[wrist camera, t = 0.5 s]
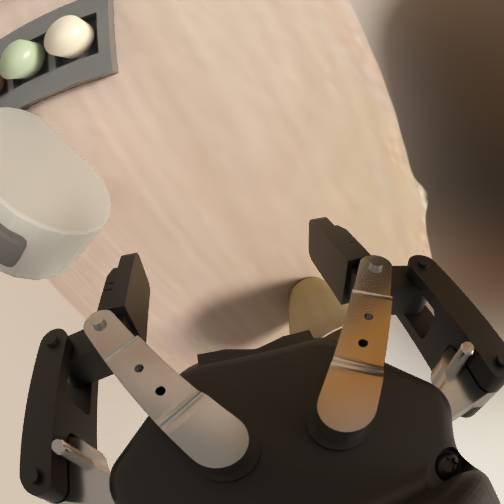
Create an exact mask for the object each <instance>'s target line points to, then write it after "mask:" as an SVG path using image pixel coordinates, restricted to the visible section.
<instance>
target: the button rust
mask: <svg viewBox="0 0 504 504" xmlns="http://www.w3.org/2000/svg"><path fill="white" fill-rule="evenodd" d="M5 80H6V79H5V78H3V77H2V76H1V74H0V92H1V91H2V89H3V87H4V84H5Z"/></svg>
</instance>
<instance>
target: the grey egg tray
mask: <svg viewBox="0 0 504 504" xmlns="http://www.w3.org/2000/svg"><path fill="white" fill-rule="evenodd" d="M67 15H74V16H77V17H78V18H80V19H82V20H83V21H85V22H86V23H88V24H89V25H91V26H92V27H93V29H94V33H95V37H94V41H93V43H92V45H91V47H90V48H89V49H88V51H87V52H85V53H84V54H83V55H81V56H79V57H77V58H73V59H69V58H64V57H60V56H55V55H51V54H49V53H48V52H47V51H46V59H45V62H44V65H43V66H42V68H41V70H40V71H39V72H38V73H37V74H36V75H35V76H33V77H31V78H27V79H6V80H5V84H4V87H3V89H2V91H1V92H0V108H2V107H10V108H16V109H24V108H26V107H28V106H30V105H32V104H35V103H37V102H39V101H41V100H43V99H46V98H48V97H50V96H53V95H55V94H57V93H60V92H62V91H65V90H68V89H70V88H73V87H76V86H78V85H81V84H84V83H87V82H90V81H93V80H96V79H99V78H102V77H106V76H109V75H112V74H116V73H118V66H117V56H116V44H115V30H114V9H113V0H77V1H75V2H72V3H70V4H67V5H65V6H63V7H60V8H58V9H56V10H54V11H51V12H49V13H47V14H45V15H43V16H41V17H39V18H37V19H35V20H33V21H31V22H29V23H27V24H26V25H24V26H22V27H20V28H19V29H17V30H15V31H13V32H12V33H10V34H8V35H7V36H5V37H4V38H2V39H0V58H1V55H2V53H3V52H4V50H5V49H6V48H7V46H8V45H9V44H11V43H12V42H14V41H16V40H19V39H22V40H27V41H31V42H36V43H40V44H42V45H43V46H44V38H45V34H46V32H47V30H48V29H49V27H50V26H51V25H52V24H53V23H54V22H55V21H56V20H58V19H59V18H61V17H63V16H67ZM44 48H45V47H44Z"/></svg>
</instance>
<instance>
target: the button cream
mask: <svg viewBox="0 0 504 504" xmlns="http://www.w3.org/2000/svg"><path fill="white" fill-rule="evenodd" d="M94 37H95V33H94V29H93V27H92V26H91V25H89V24H88V23H86V22H85V21H83V20H82V19H80V18H78V17H77V16H74V15H67V16H63V17H61V18H59V19H58V20H56V21H55V22H54V23H53V24H52V25H51V26H50V27H49V29H48V30H47V32H46V34H45V38H44V47H45V50H46V51H47V52H48V53H49V54H51V55H55V56H60V57H64V58H69V59H73V58H77V57H79V56H81V55H83V54H84V53H85V52H87V51H88V49H89V48H90V47H91V45H92V43H93V41H94Z"/></svg>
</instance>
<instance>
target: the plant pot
mask: <svg viewBox="0 0 504 504" xmlns="http://www.w3.org/2000/svg"><path fill="white" fill-rule="evenodd" d="M348 305H349V303H347V304H344V305H341V304H340V302H339V301H338V299H337V298H336V296H335V295H334V293H333V292H332V290H331V288H330V287H329V285H328V284H327V282H326V281H324V280H322V279H320V278H317V277H309V278H306V279H303V280H301V281H300V282H298V283H297V284H296V285H295V286H294V287H293V289H292V290H291V293H290V298H289V330H290V335H291V334H295V333H299V332H302V331H306V330H310V332H311V334H312V336H313V337H324V338H330V339H334V340H339V337H340V334H341V330H342V327H343V323H344V320H345V316H346V313H347V309H348Z"/></svg>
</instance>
